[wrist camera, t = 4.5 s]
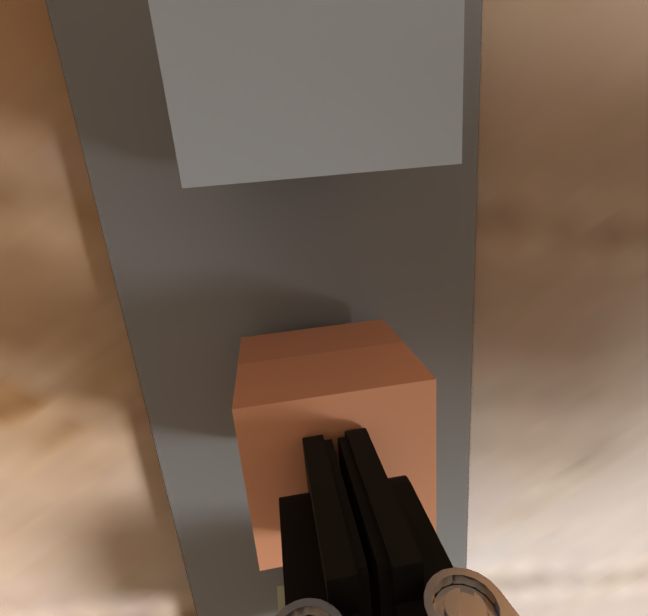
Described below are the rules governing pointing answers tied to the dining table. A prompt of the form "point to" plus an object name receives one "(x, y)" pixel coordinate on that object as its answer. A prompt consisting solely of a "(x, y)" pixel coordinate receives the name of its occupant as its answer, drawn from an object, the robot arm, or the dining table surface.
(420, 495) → the button terracotta
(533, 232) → the dining table surface
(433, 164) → the button slate
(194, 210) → the button board
